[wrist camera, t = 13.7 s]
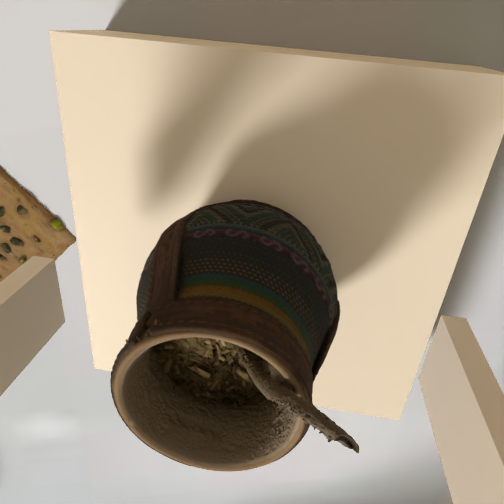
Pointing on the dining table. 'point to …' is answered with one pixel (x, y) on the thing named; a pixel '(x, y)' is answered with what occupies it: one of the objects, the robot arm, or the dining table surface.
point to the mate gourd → (229, 339)
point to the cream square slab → (281, 178)
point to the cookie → (26, 228)
